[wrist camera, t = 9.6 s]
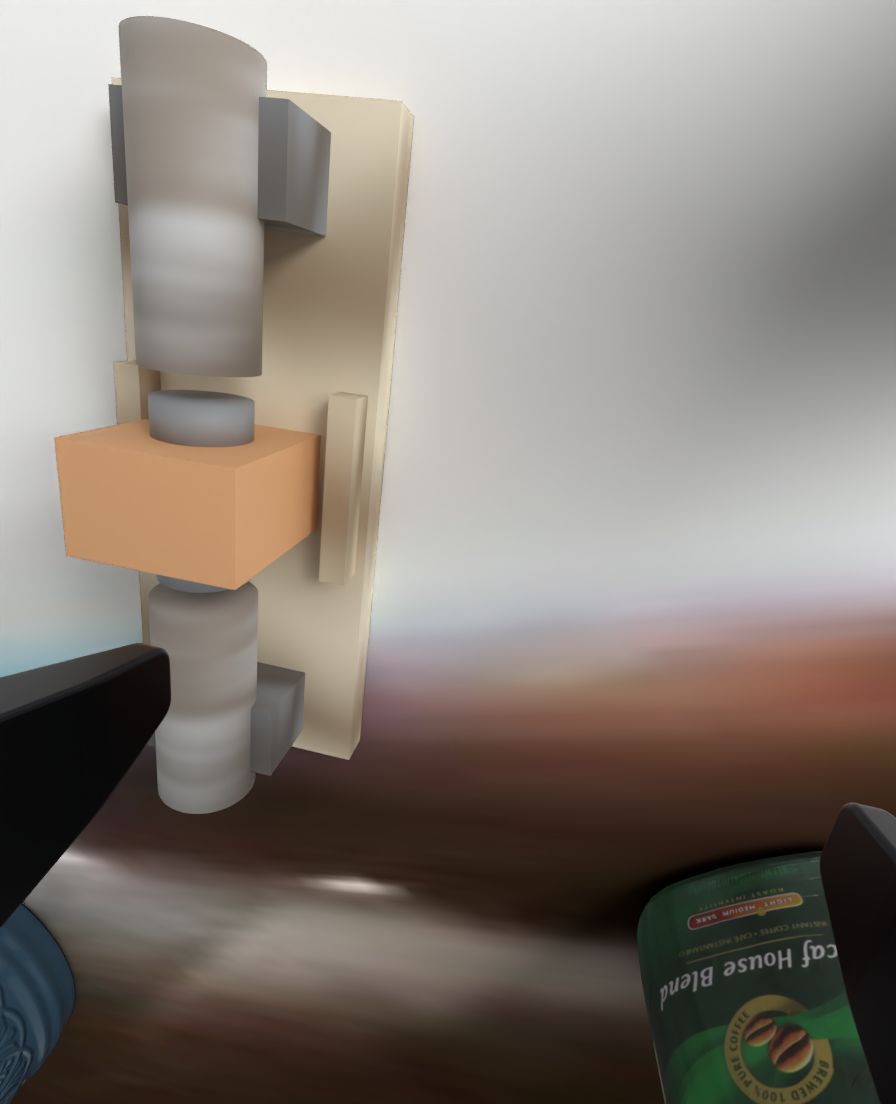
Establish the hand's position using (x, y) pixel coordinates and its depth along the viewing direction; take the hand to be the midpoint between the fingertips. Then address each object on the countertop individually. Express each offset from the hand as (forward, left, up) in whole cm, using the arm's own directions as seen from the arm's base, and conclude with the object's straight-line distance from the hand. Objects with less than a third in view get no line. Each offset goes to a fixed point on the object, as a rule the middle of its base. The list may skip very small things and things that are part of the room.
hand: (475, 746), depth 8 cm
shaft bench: (+9, 0, -12) cm, 15 cm away
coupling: (+9, 0, -11) cm, 14 cm away
